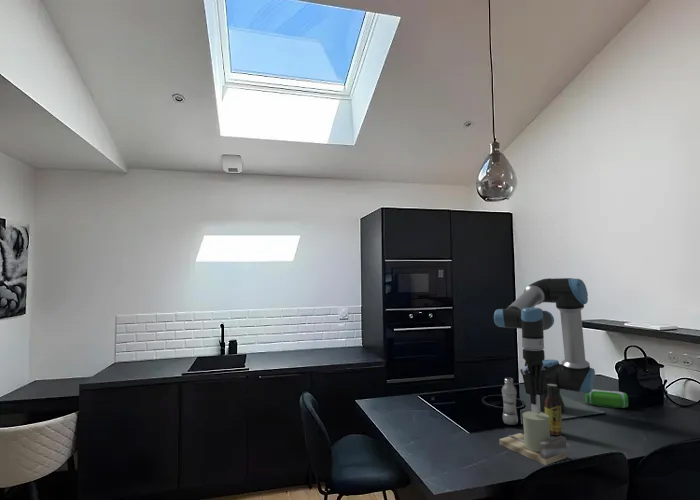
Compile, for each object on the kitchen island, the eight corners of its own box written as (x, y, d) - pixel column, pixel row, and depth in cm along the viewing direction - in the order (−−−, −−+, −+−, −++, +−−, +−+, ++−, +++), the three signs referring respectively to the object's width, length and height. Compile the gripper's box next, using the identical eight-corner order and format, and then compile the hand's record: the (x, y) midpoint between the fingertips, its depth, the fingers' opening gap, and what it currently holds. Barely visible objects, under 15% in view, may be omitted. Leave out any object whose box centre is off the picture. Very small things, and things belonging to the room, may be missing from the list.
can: (532, 453, 144) (530, 419, 145) (519, 442, 154) (517, 410, 154) (556, 451, 145) (554, 417, 146) (542, 440, 154) (540, 408, 155)
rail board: (499, 444, 157) (498, 426, 158) (519, 437, 163) (519, 420, 164) (545, 465, 140) (544, 444, 140) (566, 457, 146) (565, 437, 146)
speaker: (625, 405, 200) (625, 390, 200) (629, 410, 193) (628, 394, 193) (585, 401, 207) (584, 386, 207) (587, 406, 200) (586, 390, 201)
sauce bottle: (555, 437, 163) (553, 387, 164) (541, 432, 169) (539, 384, 170) (565, 434, 166) (563, 385, 167) (552, 429, 172) (549, 382, 173)
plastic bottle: (517, 422, 180) (516, 377, 181) (518, 427, 174) (517, 381, 175) (502, 420, 182) (500, 376, 183) (503, 426, 176) (501, 379, 177)
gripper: (530, 352, 145) (533, 418, 144) (553, 348, 151) (556, 412, 150) (513, 349, 152) (515, 412, 150) (535, 345, 158) (538, 406, 157)
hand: (535, 412), depth 150 cm, fingers closed
